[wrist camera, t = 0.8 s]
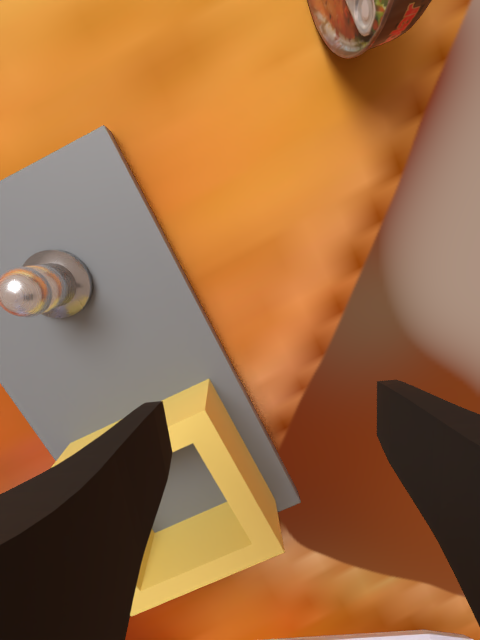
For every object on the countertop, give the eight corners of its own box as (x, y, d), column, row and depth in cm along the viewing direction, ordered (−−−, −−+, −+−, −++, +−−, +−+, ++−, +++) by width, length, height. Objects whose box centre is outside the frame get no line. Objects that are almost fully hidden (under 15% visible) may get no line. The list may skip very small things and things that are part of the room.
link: (146, 555, 24) (131, 616, 20) (70, 443, 22) (35, 487, 18) (275, 499, 23) (284, 552, 19) (209, 378, 21) (205, 409, 17)
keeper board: (139, 560, 25) (135, 573, 24) (-87, 237, 19) (-104, 236, 18) (297, 491, 24) (300, 502, 23) (110, 131, 18) (103, 125, 18)
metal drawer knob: (49, 326, 20) (-2, 351, 15) (12, 268, 19) (-53, 276, 15) (106, 298, 20) (70, 315, 15) (70, 237, 19) (22, 237, 14)
